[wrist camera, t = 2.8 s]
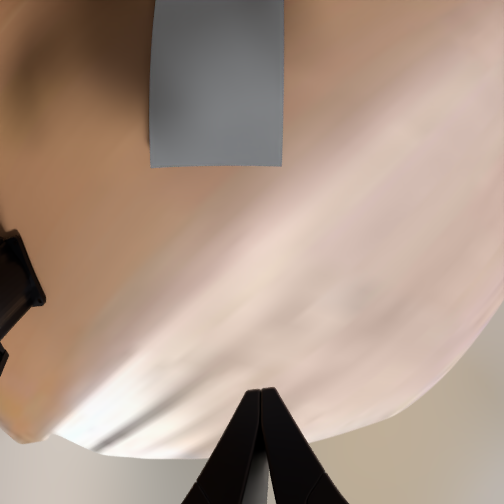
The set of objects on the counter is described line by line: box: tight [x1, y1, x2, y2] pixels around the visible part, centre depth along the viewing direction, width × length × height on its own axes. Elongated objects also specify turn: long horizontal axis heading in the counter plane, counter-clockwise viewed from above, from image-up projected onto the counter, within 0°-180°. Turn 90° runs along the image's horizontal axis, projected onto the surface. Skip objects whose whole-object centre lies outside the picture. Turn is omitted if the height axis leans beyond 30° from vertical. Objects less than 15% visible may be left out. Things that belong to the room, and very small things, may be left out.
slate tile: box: [149, 0, 284, 168], centre depth 13 cm, size 14×7×2 cm, turn 179°
